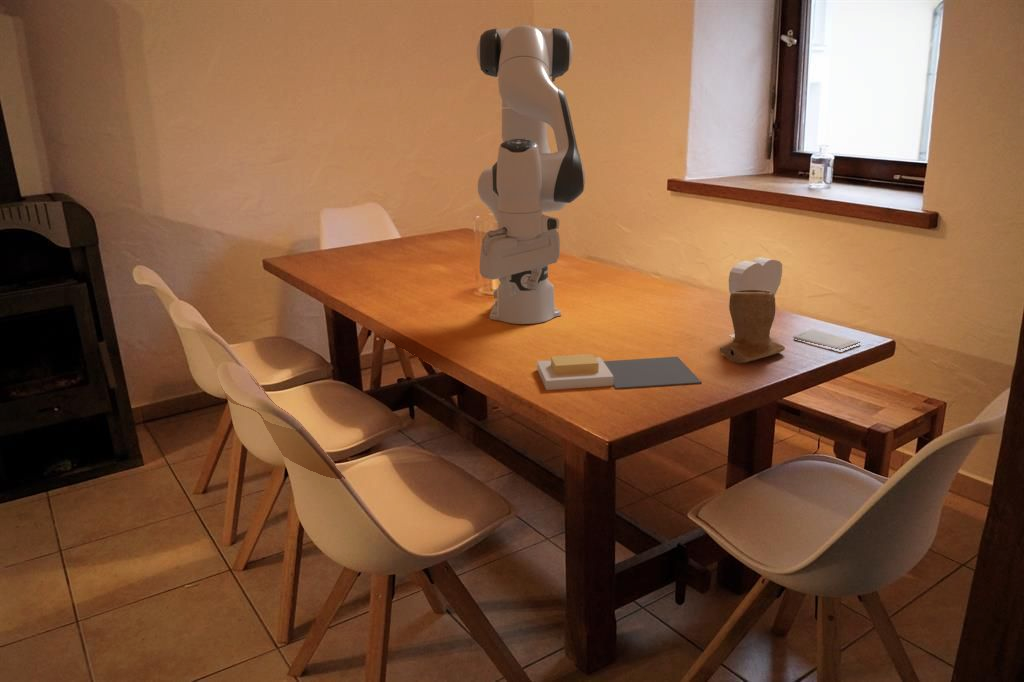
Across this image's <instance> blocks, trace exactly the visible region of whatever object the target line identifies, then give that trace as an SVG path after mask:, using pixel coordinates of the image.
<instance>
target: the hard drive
mask: <svg viewBox="0 0 1024 682" xmlns="http://www.w3.org/2000/svg"><path fill="white" fill-rule="evenodd" d="M792 337H793V338H794V339H797V340H801V341H805V342H810V343H814V344H818V345H823V346H828V347H831V348H835V349H839V350H841V349H844V348H847V347H850V346H853V345H856V344H858V343H860V342H861V341H858V340H853V339H851V338H847V337H843V336H841V335H840V336H839V335H836V334H832V333H828V332H824V331H821V330H817V329H813V328H812V329H810V330H807V331H806V330H805V331H804V332H801V333H798V334H795V335H793V336H792ZM793 338H792V339H793Z"/></svg>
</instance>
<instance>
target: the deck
mask: <svg viewBox="0 0 1024 682" xmlns="http://www.w3.org/2000/svg"><path fill="white" fill-rule="evenodd" d="M595 358H596V360H597V361H598V363H599V372H594V373H578V374H563V375H556V374H555V372H554V370H553V368H552V366H551V359H550V360H537V361H536V362H537V363H536V367H537V368H536V370H537V371H538V375H539V377H540V380H541V381H542V384H543V386H544V388H545V390H546V391H550V390H551V391H552V390H566V389H567V390H568V389H582V388H598V387H600V388H601V387H614V376H613V375H612V373H611V372H610V370H609V369H608V367H607V366H606V364H605V363H604V361H605V360H603V359H602V357H601V356H600V357H599V356H598V357H595Z"/></svg>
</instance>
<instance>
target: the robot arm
mask: <svg viewBox="0 0 1024 682" xmlns="http://www.w3.org/2000/svg"><path fill="white" fill-rule="evenodd" d="M573 57H574V46H573V43H572V41H571V38H570V33H568V32H567V31H566V30H564V29H561V28H556V27H553V28H547V27H546V28H545V27H535V26H532V25H528V24H522V25H521V24H520V25H517V26H514V27H511V28H510V27H509V28H502V29H498V28H492V29H487V30H485V31H484V32H482V34H481V35H480V38H479V40H478V43H477V46H476V60H477V63H478V65H479V67H480V68H479V69H480V70H481V72H482V73H483V74H484V75H486V76H489V77H494V78H497V82H498V92H499V95H500V98H501V99H502V100H501V139H502V142H501V143H500V145H499V147H498V154H497V161H496V162H495V163H494V164H493V165H492V166H490V167H486V168H484V170H483V171H482V172H481V173H480V175H479V178H478V181H477V192H478V196H479V197H480V200H481V201H482V202H483V203H484V204H485V205H486V206H487V207H488V208H489V210H490V211H491V212H492V214H493V216H494V218H495V220H496V222H497V229H495V230H488V231H487V232H486V234H485V235H484V236H483V237H482V240H481V248H480V255H479V274H480V275H481V277H482V278H484V279H489V280H493V281H494V280H498V281H499V282H500V284H499V285H498V287H497V288H496V289H493V298H494V299H496V300H495V301H494V302H493V304H492V308H491V309H490V310H491V311H490V313H489V319H490V320H495V321H501V322H504V323H509V324H513V325H514V324H516V325H528V324H529V325H533V324H541V323H544V322H548V321H550V320H551V319H553V318H557V317H560V316H562V311H561V310H560V309H558V308H557V307H556V306H555V288H554V287H555V286H554V284H552V282H551V281H549V279H548V277H549V268H548V267H549V265H552V264H553V265H554V264H556V263H557V262H558V260H559V258H560V256H561V255H560V252H561V251H560V249H561V248H560V247H561V245H560V244H561V242H560V234H559V231H558V230H559V228H560V219H559V218H556V217H554V216H549V215H545V214H543V213H550V212H551V213H552V212H557V211H561V210H563V209H564V207H565V206H566V205H567V204H570V203H573V201H575V200H576V199H578V198H579V196H581V195H582V194H583V192H584V191H585V186H586V172H585V167H584V164H583V161H582V159H581V156H580V152H579V148H578V144H577V140H576V134H575V130H574V126H573V121H572V117H571V112H570V108H569V105H568V104H569V103H568V101H567V97H566V94H565V93H564V91H563V90H562V89H560V88H558V87H557V86H556V85H554V83H553V82H555V80H556V78H557V79H558V78H559V77H562V76H564V75H565V73H567V72H568V71H569V69H570V66H571V63H572V61H573ZM550 77H551V78H550ZM548 125H549V126H550V127H551V128H552V130H553V132H554V139H555V144H556V149H557V151H555V152H551V149H550V145H549V140H548Z"/></svg>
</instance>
